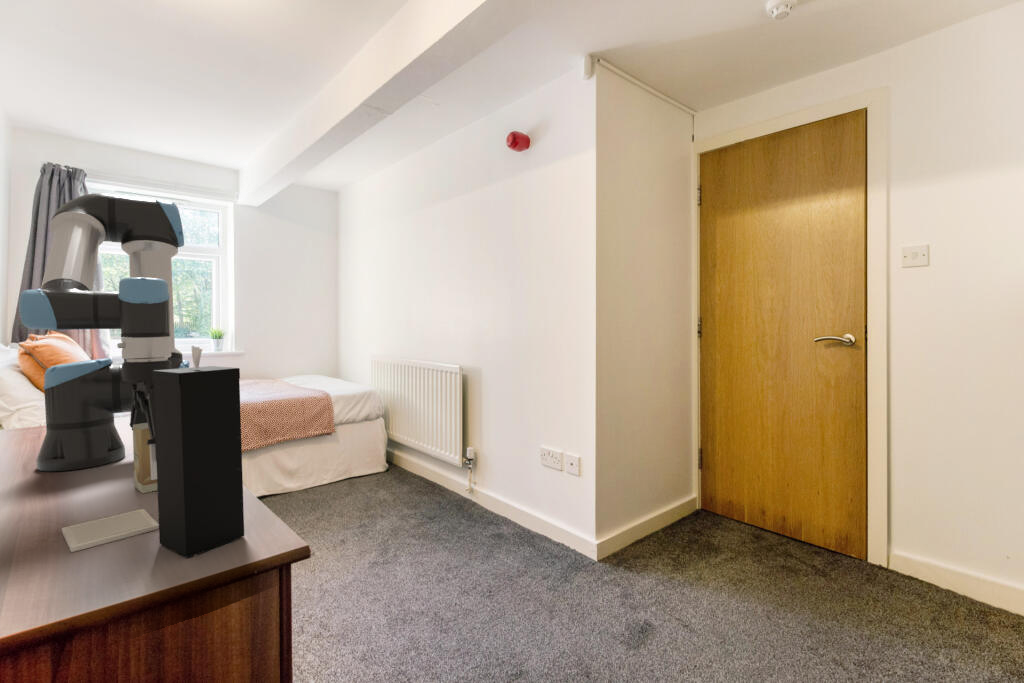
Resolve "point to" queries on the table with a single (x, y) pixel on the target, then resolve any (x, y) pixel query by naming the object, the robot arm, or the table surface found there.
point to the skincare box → (142, 459)
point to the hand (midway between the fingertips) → (151, 470)
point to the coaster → (108, 529)
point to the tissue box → (198, 456)
